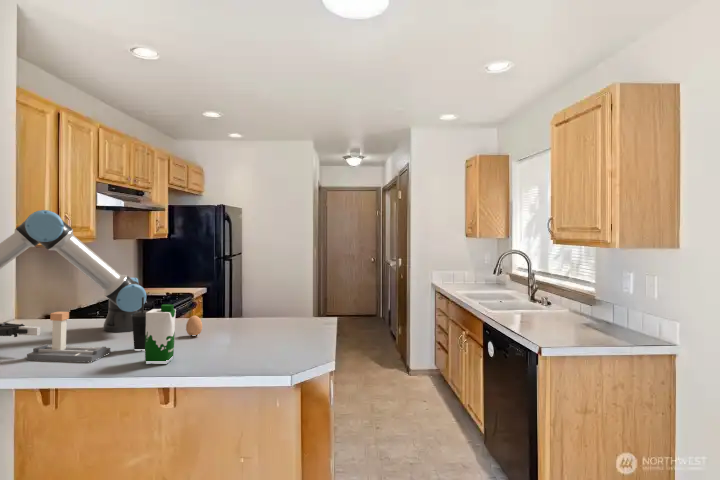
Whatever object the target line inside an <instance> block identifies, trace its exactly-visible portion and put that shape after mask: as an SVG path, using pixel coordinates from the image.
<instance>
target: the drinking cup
mask: <svg viewBox="0 0 720 480" xmlns="http://www.w3.org/2000/svg"><path fill="white" fill-rule="evenodd" d="M144 307H145V304H144V297H142V307H141V310H137V312H135V313H133V314H131V316H132V324H133V331H132V334H133V335H132V336H133V337H132V338H133V350H134V349H145V335H146V312H148V311H149V310H144V309H145V308H144Z"/></svg>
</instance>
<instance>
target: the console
mask: <svg viewBox="0 0 720 480" xmlns="http://www.w3.org/2000/svg"><path fill="white" fill-rule="evenodd" d="M108 353H110V354H111V348H110V347H107V346H101V347H96V346H95V347H94V346H93V347H92V346H72V345H71V346H70V345H66V349H65V350H54V349H52V345H49V344H48V343H45V344H42V345H39V346H36V347H33V349H32V352H29V353H27V354H26V361H40V362H41V361H43V362H44V361H45V362H64V361H89V362H91V361H94V360H96V359H98V358H100V357H102V356H104V355H106V354H108ZM108 355H109V354H108ZM106 356H107V355H106ZM104 357H105V356H104ZM102 358H103V357H102ZM100 359H101V358H100ZM98 360H99V359H98ZM96 361H97V360H96ZM89 362H88V363H89ZM94 362H95V361H94Z"/></svg>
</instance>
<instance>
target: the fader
mask: <svg viewBox="0 0 720 480" xmlns="http://www.w3.org/2000/svg"><path fill="white" fill-rule="evenodd" d="M49 317H50V320H49V321H52V328H51V329H52V331H51V332H52V333H51V334H52V335H51V336H52V337H51V346H52V349H54V350H65V349H66V346H67V323H68V321H67V320H69V319H70V311H56V312H55V311H54V312H51V313H50V316H49Z"/></svg>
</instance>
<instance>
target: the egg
mask: <svg viewBox="0 0 720 480" xmlns="http://www.w3.org/2000/svg"><path fill="white" fill-rule="evenodd" d="M185 330H186V333H187V335H189V336H190V335H198V334H199V335H200V334H201V333H202V331H203V322H202V320H201V318H200V317H199V316H197V315H191V316H190V317H189V319H188V320H187V322H186V324H185ZM199 335H198V336H199Z"/></svg>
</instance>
